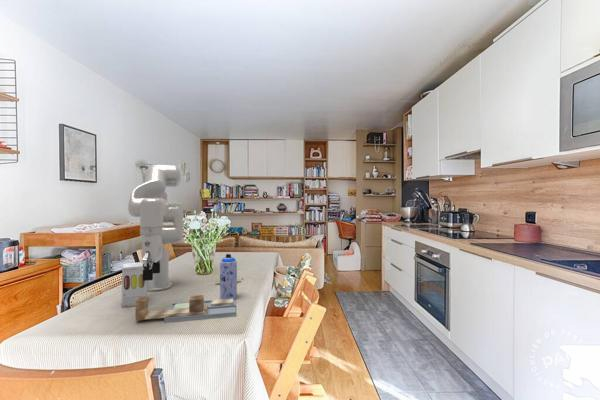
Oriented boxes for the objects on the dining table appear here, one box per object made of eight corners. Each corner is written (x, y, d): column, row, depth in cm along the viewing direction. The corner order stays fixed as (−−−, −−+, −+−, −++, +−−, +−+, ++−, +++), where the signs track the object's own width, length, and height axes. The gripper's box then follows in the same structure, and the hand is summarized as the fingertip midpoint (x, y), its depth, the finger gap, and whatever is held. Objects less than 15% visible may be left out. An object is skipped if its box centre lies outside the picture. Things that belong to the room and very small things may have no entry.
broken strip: (192, 308, 119) (192, 305, 119) (193, 304, 123) (193, 301, 123) (233, 305, 122) (233, 302, 122) (233, 301, 127) (233, 298, 127)
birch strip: (135, 320, 106) (135, 301, 106) (139, 315, 111) (139, 296, 111) (206, 314, 112) (206, 296, 112) (207, 309, 117) (207, 292, 117)
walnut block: (189, 312, 111) (189, 300, 111) (190, 307, 115) (190, 295, 115) (202, 311, 112) (202, 299, 112) (203, 306, 116) (203, 294, 116)
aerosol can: (216, 297, 134) (216, 254, 134) (231, 293, 139) (231, 251, 139) (225, 301, 128) (225, 256, 128) (240, 297, 134) (240, 254, 134)
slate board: (164, 322, 107) (163, 318, 107) (172, 306, 123) (172, 303, 123) (235, 316, 113) (235, 312, 113) (235, 301, 129) (235, 298, 129)
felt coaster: (173, 310, 116) (173, 309, 116) (175, 305, 122) (175, 303, 122) (188, 309, 118) (188, 307, 118) (190, 303, 123) (190, 302, 123)
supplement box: (121, 307, 121) (121, 267, 121) (123, 300, 129) (122, 263, 129) (147, 303, 126) (147, 265, 125) (147, 297, 134) (147, 260, 134)
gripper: (155, 234, 102) (156, 282, 102) (167, 228, 119) (168, 270, 119) (132, 234, 100) (132, 283, 100) (147, 229, 117) (148, 271, 117)
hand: (151, 276), depth 110 cm, fingers open, 9 cm apart
